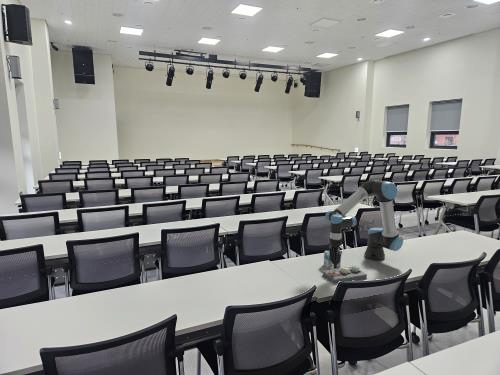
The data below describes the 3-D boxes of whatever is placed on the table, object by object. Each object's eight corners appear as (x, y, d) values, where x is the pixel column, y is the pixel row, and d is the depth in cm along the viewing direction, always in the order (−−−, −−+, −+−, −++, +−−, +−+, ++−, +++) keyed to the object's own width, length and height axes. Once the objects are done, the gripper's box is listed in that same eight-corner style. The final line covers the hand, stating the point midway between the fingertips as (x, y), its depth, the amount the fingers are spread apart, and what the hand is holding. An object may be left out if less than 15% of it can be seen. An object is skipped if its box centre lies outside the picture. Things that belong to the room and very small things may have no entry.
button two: (345, 270, 223) (345, 266, 223) (350, 273, 219) (350, 269, 218) (339, 271, 222) (339, 267, 221) (343, 274, 217) (344, 270, 217)
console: (353, 270, 231) (353, 266, 231) (366, 278, 218) (366, 274, 218) (322, 275, 223) (323, 270, 223) (334, 283, 210) (334, 279, 210)
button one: (356, 269, 226) (356, 264, 225) (360, 272, 221) (360, 267, 221) (349, 270, 224) (350, 265, 224) (354, 273, 220) (354, 268, 219)
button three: (334, 274, 221) (335, 270, 220) (339, 278, 216) (339, 273, 216) (328, 275, 219) (328, 271, 219) (332, 279, 215) (332, 274, 214)
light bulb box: (327, 268, 235) (328, 254, 233) (323, 264, 241) (323, 250, 239) (340, 266, 237) (341, 252, 236) (336, 263, 244) (336, 249, 242)
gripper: (325, 235, 218) (323, 269, 222) (336, 241, 206) (334, 277, 210) (335, 234, 221) (333, 267, 224) (346, 240, 208) (344, 275, 212)
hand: (333, 272), depth 217 cm, fingers closed
